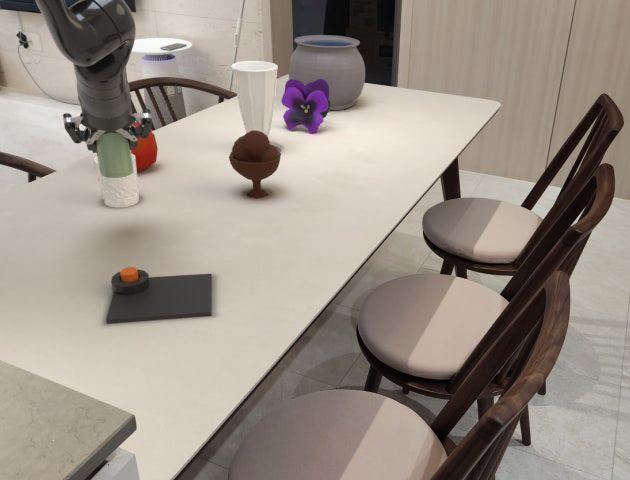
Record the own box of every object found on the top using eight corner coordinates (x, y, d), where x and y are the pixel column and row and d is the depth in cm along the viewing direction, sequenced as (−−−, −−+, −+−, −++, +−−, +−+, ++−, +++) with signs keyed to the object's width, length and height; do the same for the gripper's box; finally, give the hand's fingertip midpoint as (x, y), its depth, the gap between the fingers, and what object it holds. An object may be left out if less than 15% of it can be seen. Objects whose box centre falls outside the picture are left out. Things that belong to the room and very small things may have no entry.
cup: (267, 141, 173) (264, 59, 162) (288, 153, 165) (286, 67, 154) (228, 148, 166) (222, 62, 156) (248, 161, 159) (243, 72, 148)
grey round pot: (310, 90, 224) (310, 31, 214) (375, 100, 216) (378, 39, 206) (274, 106, 204) (272, 41, 194) (345, 117, 196) (346, 50, 186)
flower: (291, 137, 194) (273, 126, 181) (300, 88, 193) (283, 74, 180) (336, 143, 190) (321, 133, 177) (345, 93, 189) (331, 79, 176)
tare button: (120, 283, 100) (119, 275, 99) (122, 275, 102) (121, 267, 101) (137, 282, 100) (136, 274, 99) (139, 274, 102) (138, 266, 102)
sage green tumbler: (98, 178, 112) (90, 134, 108) (103, 167, 117) (95, 124, 113) (131, 177, 113) (125, 133, 109) (135, 166, 118) (129, 124, 114)
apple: (139, 179, 145) (131, 129, 139) (105, 171, 148) (96, 122, 142) (168, 166, 153) (163, 119, 147) (136, 159, 156) (129, 112, 150)
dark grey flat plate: (105, 327, 94) (102, 310, 92) (116, 286, 104) (113, 270, 103) (211, 319, 97) (210, 302, 95) (212, 279, 107) (210, 264, 106)
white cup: (111, 214, 128) (103, 167, 123) (95, 202, 133) (87, 156, 128) (148, 205, 133) (142, 159, 128) (132, 193, 137) (125, 149, 132)
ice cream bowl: (292, 195, 141) (291, 128, 133) (258, 210, 133) (254, 140, 125) (256, 183, 146) (253, 118, 138) (221, 198, 137) (216, 130, 130)
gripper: (149, 73, 102) (151, 125, 117) (50, 76, 97) (66, 130, 112) (156, 114, 100) (158, 162, 116) (57, 120, 95) (72, 169, 111)
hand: (112, 146), depth 114 cm, fingers closed on sage green tumbler, 5 cm apart
